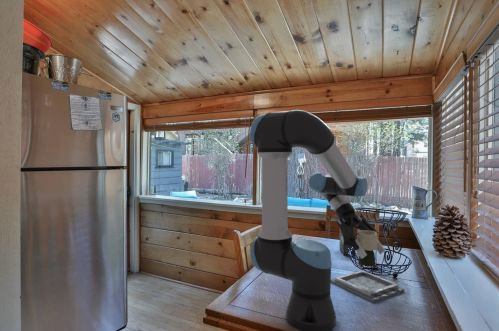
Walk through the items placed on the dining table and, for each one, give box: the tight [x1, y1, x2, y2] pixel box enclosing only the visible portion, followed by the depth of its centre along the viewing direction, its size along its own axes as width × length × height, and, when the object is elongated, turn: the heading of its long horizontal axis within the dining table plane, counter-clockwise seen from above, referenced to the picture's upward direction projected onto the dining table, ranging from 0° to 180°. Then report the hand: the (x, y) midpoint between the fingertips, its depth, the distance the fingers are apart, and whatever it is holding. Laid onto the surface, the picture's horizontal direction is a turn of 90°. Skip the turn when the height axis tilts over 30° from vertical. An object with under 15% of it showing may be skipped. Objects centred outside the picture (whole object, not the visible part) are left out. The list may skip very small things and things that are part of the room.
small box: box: [339, 230, 356, 257], centre depth 157 cm, size 11×6×10 cm, turn 175°
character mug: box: [357, 229, 378, 266], centre depth 116 cm, size 11×7×13 cm, turn 141°
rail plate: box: [331, 269, 405, 304], centre depth 115 cm, size 18×20×2 cm
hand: (373, 254), depth 113 cm, fingers closed on character mug, 10 cm apart
